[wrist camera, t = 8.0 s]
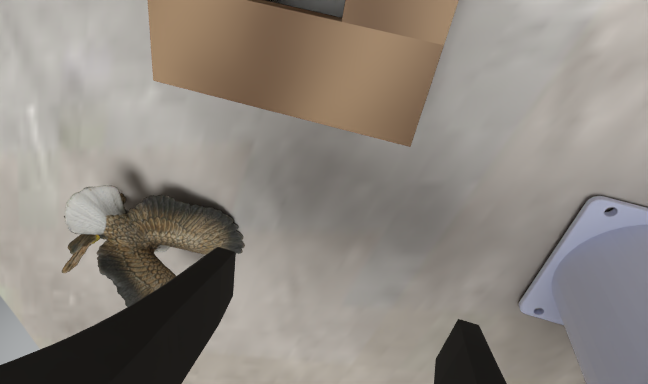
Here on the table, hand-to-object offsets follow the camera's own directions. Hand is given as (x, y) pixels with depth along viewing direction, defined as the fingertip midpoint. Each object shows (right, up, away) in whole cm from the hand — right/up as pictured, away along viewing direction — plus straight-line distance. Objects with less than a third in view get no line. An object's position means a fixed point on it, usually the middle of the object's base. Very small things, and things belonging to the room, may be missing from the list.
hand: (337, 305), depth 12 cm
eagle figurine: (-10, +2, +13) cm, 17 cm away
